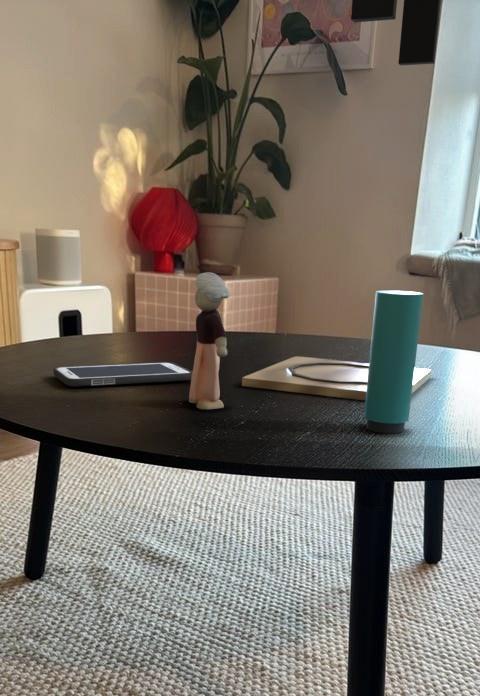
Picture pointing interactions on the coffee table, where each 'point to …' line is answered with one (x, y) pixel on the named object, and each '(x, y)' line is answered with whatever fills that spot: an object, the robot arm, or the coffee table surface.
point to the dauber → (392, 360)
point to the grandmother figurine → (208, 342)
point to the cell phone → (121, 374)
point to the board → (321, 377)
